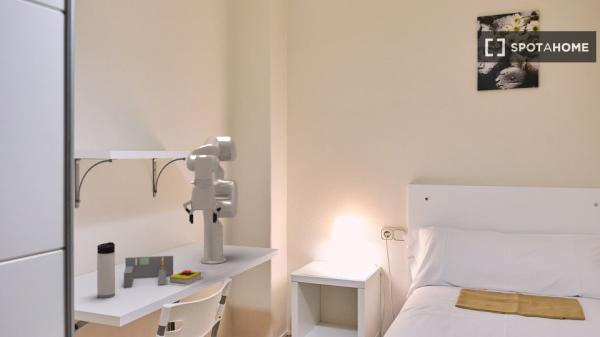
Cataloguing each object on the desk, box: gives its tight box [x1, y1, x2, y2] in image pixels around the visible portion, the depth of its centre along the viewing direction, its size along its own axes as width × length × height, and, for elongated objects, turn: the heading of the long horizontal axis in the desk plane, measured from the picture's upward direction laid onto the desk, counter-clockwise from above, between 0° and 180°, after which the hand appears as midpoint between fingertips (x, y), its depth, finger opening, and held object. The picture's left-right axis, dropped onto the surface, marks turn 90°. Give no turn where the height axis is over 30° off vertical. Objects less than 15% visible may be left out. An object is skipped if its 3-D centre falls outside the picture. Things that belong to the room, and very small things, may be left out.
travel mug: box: [96, 241, 116, 299], centre depth 188 cm, size 6×7×20 cm
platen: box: [158, 260, 167, 285], centre depth 209 cm, size 11×3×8 cm, turn 15°
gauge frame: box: [123, 255, 174, 289], centre depth 209 cm, size 16×20×9 cm
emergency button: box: [166, 269, 204, 287], centre depth 211 cm, size 9×4×15 cm
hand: (203, 223), depth 213 cm, fingers open, 9 cm apart
